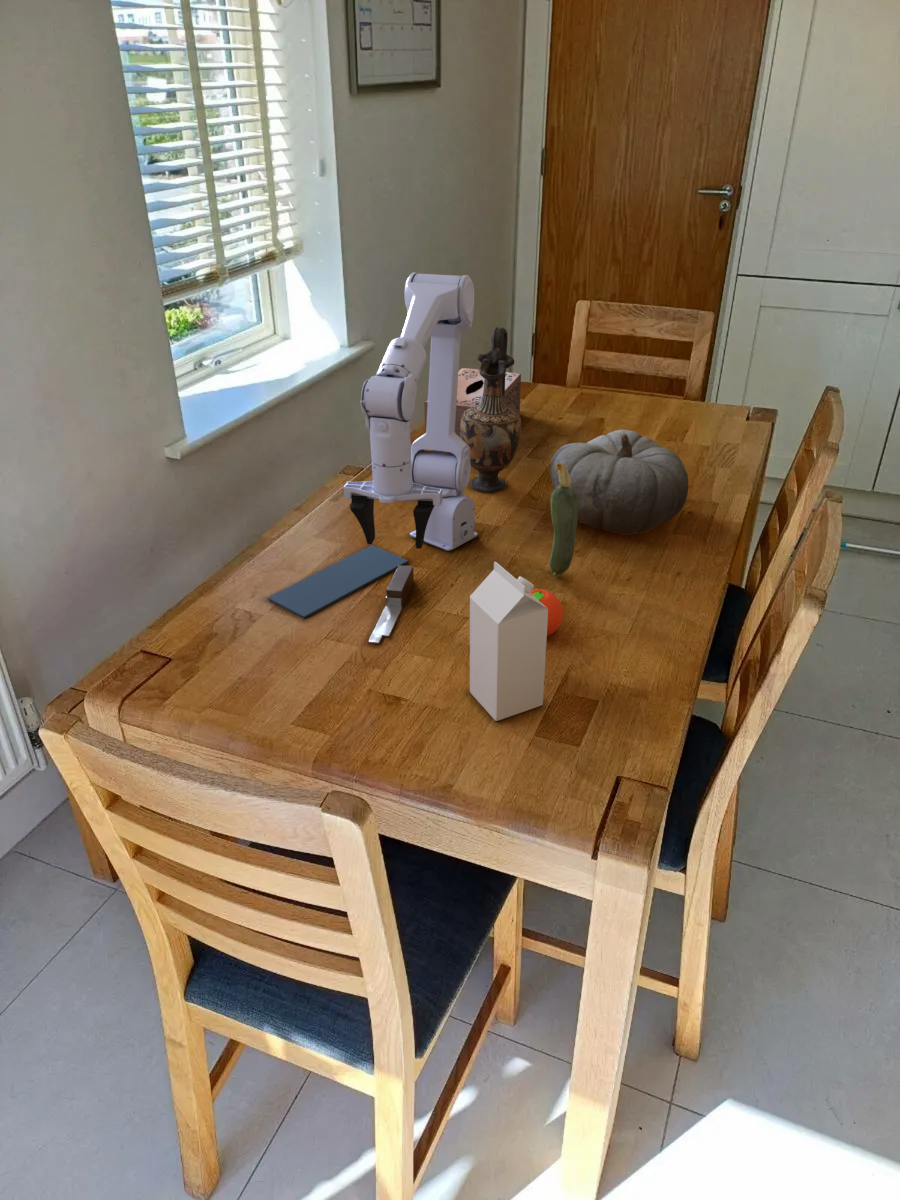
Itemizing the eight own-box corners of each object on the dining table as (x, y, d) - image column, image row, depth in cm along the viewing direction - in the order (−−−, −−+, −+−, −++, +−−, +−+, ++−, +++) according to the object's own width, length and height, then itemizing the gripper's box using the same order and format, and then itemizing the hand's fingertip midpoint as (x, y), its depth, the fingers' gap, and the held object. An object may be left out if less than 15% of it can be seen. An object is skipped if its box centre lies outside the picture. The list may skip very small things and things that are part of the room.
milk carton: (496, 722, 111) (498, 594, 101) (469, 692, 117) (469, 568, 107) (543, 706, 114) (550, 580, 104) (515, 677, 120) (519, 554, 110)
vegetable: (575, 573, 144) (584, 459, 133) (570, 586, 140) (578, 470, 130) (549, 569, 145) (556, 456, 135) (543, 582, 142) (549, 466, 131)
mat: (408, 562, 148) (408, 560, 147) (304, 618, 133) (304, 616, 133) (371, 546, 153) (371, 544, 152) (267, 599, 138) (267, 597, 138)
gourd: (519, 518, 155) (539, 423, 148) (568, 489, 176) (588, 404, 169) (654, 563, 146) (682, 463, 139) (689, 526, 167) (715, 438, 160)
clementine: (545, 655, 124) (547, 612, 120) (502, 641, 127) (503, 599, 123) (569, 628, 130) (572, 587, 126) (528, 615, 133) (529, 575, 129)
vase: (451, 492, 172) (450, 337, 156) (474, 468, 182) (475, 321, 166) (508, 501, 168) (512, 343, 152) (528, 477, 178) (534, 326, 162)
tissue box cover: (488, 453, 189) (488, 408, 184) (425, 445, 193) (424, 401, 188) (519, 414, 210) (521, 373, 204) (462, 408, 214) (462, 367, 209)
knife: (398, 580, 143) (398, 564, 141) (414, 581, 142) (413, 566, 141) (368, 643, 127) (367, 627, 126) (385, 645, 127) (384, 628, 125)
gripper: (334, 466, 124) (341, 551, 131) (434, 473, 122) (436, 559, 129) (349, 448, 130) (355, 530, 137) (444, 455, 128) (446, 538, 135)
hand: (395, 543), depth 133 cm, fingers open, 7 cm apart
